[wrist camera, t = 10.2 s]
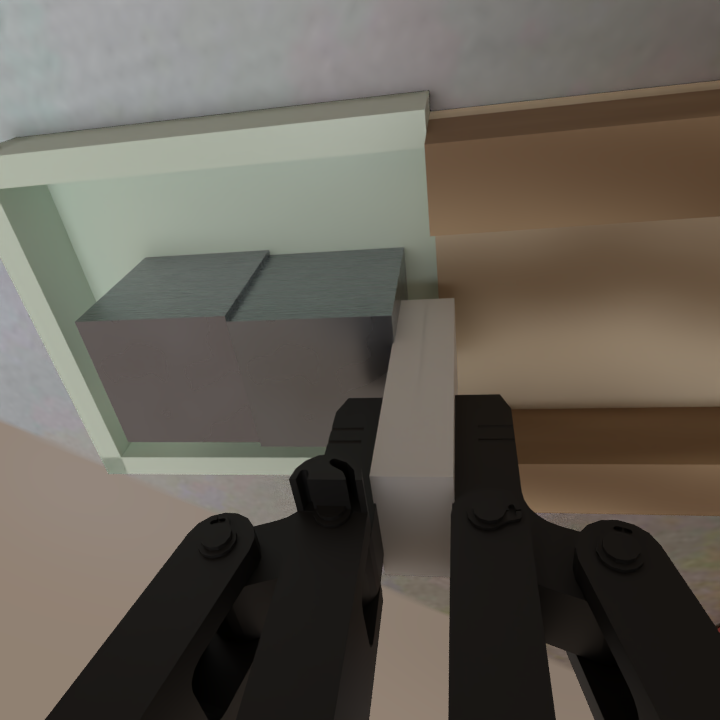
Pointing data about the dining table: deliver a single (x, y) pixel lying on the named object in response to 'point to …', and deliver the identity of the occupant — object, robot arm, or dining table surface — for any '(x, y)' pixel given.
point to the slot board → (590, 289)
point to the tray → (205, 228)
